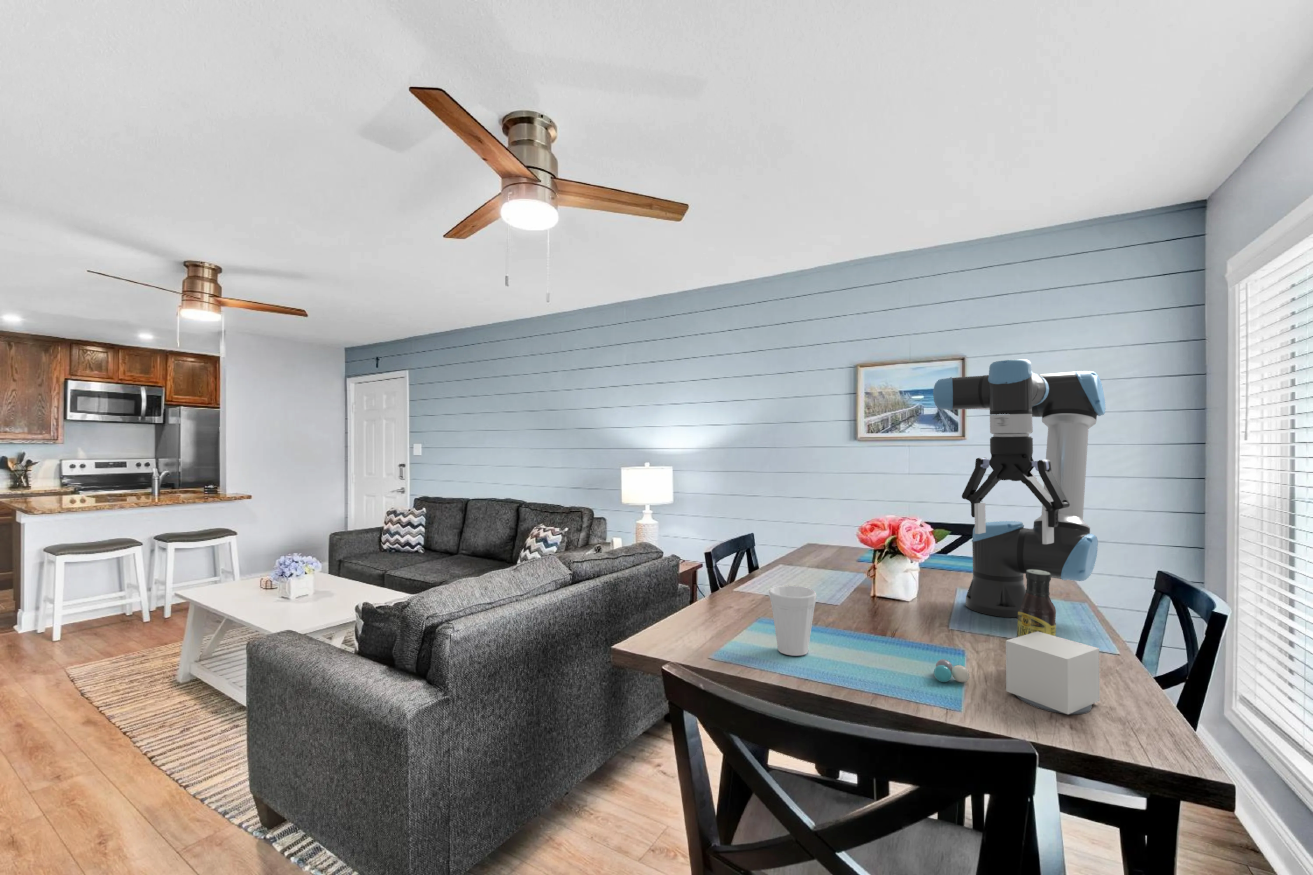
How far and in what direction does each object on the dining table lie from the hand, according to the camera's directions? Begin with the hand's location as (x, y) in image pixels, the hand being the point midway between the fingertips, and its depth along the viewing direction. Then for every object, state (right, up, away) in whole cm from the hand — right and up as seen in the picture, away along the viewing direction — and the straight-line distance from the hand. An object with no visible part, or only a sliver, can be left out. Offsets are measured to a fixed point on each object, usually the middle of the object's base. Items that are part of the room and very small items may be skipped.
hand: (1012, 538), depth 119 cm
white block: (-5, -24, -19) cm, 31 cm away
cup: (-44, -25, +5) cm, 51 cm away
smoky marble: (-18, -25, -8) cm, 32 cm away
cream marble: (-17, -25, -11) cm, 32 cm away
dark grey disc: (-4, -25, -19) cm, 31 cm away
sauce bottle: (0, -25, -8) cm, 26 cm away
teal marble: (-20, -25, -11) cm, 34 cm away
